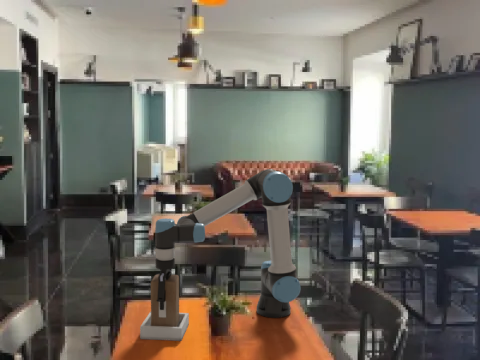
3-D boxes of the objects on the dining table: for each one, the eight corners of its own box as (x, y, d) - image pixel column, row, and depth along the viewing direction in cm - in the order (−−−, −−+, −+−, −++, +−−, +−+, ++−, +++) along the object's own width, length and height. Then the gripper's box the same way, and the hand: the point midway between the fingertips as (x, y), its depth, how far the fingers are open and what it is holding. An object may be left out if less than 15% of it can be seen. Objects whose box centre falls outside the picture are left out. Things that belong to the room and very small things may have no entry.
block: (176, 331, 212) (175, 281, 209) (150, 330, 212) (150, 281, 209) (179, 321, 222) (179, 274, 219) (155, 320, 222) (154, 273, 219)
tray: (188, 324, 224) (188, 313, 224) (181, 340, 208) (181, 328, 208) (150, 323, 226) (150, 311, 225) (140, 338, 210) (140, 326, 209)
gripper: (162, 250, 225) (162, 301, 228) (148, 265, 202) (149, 322, 205) (179, 251, 224) (180, 302, 227) (168, 266, 202) (168, 323, 204)
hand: (165, 312), depth 216 cm, fingers closed on block, 10 cm apart
